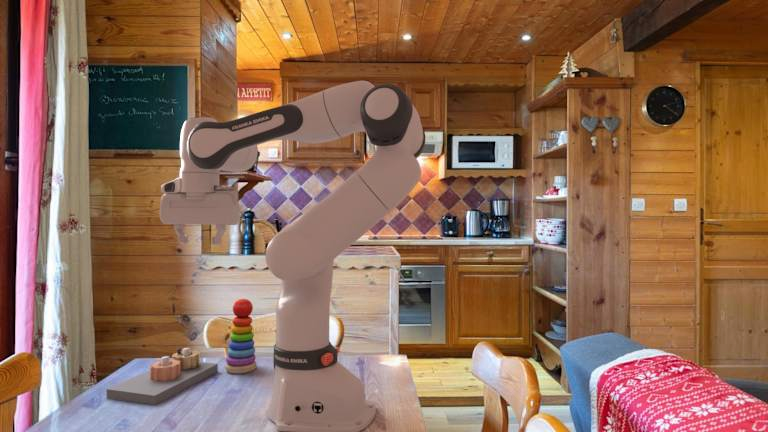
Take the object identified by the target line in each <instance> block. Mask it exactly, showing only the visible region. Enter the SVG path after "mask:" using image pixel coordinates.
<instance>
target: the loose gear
mask: <svg viewBox="0 0 768 432" xmlns="http://www.w3.org/2000/svg"><path fill="white" fill-rule="evenodd" d="M149 369H150V370H149V371H150V379H151V380H152V379H154V381H158V380H162V381H166V380H168V379H174V378H175V377H179V376H180V374H181V361H177V360H175V359H173V360H172V359H170V365H167V366H161V360H158V361H155V362H152V363H150V366H149Z"/></svg>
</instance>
